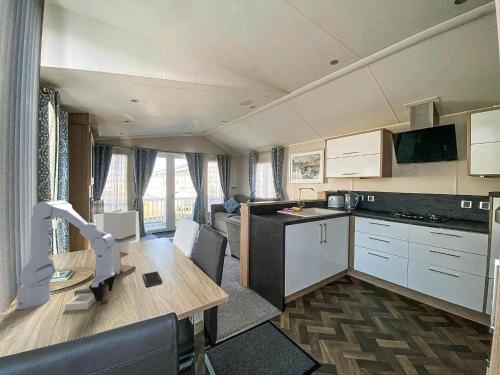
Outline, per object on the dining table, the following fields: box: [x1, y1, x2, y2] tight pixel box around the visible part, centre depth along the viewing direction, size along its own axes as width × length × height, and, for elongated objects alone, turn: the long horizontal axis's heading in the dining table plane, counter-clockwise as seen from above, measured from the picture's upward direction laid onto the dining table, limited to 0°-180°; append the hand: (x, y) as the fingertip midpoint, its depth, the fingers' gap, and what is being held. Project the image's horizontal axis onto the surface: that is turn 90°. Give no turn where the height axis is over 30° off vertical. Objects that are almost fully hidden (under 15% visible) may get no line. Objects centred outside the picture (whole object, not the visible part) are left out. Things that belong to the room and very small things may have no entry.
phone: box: [142, 271, 163, 288], centre depth 113 cm, size 8×1×15 cm
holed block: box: [64, 293, 97, 311], centre depth 88 cm, size 8×8×2 cm
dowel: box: [99, 284, 109, 306], centre depth 89 cm, size 3×3×8 cm
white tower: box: [102, 209, 137, 279], centre depth 119 cm, size 11×11×35 cm
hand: (104, 295), depth 89 cm, fingers open, 7 cm apart
